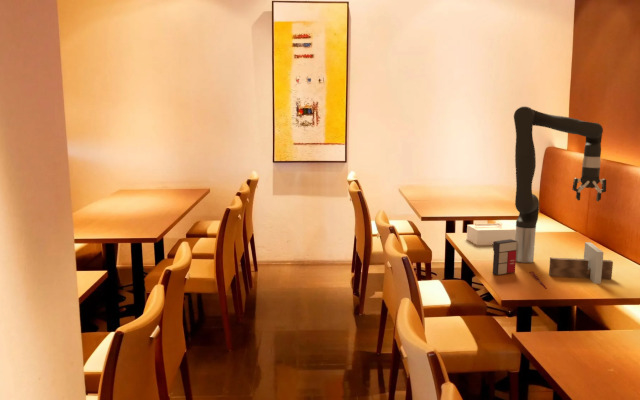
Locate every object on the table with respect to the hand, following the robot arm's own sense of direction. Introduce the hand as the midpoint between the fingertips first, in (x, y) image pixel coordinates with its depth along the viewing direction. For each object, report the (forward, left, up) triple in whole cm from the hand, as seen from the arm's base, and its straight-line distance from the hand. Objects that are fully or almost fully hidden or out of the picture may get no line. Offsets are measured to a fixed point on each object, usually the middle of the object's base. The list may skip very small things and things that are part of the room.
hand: (588, 200), depth 276 cm
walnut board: (-6, -18, -32) cm, 37 cm away
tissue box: (-35, +45, -32) cm, 66 cm away
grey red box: (-39, -18, -32) cm, 54 cm away
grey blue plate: (-1, -18, -32) cm, 37 cm away
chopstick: (-25, -27, -33) cm, 49 cm away
